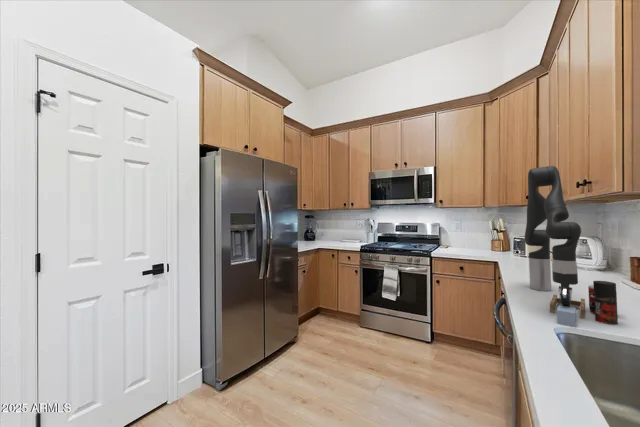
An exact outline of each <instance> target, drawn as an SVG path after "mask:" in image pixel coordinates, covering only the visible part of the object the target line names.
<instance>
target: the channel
mask: <svg viewBox="0 0 640 427" xmlns="http://www.w3.org/2000/svg"><path fill="white" fill-rule="evenodd" d="M585 300H586V299H585V298H581V297H580V300H579V301H578V300H574V299H573V300H572V299H571V301H570V303H571V305H577V306H580V309H579V310H580V311H579V312H580V313H579V314H580V318H581V319H586V301H585ZM558 303H561V299H560V297H558V295H557V294H553V296H552V298H551V300H550V303H549V312H550V313H553V314H554V313H555V311H556V309H557V306H558Z"/></svg>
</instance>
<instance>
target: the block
mask: <svg viewBox="0 0 640 427" xmlns="http://www.w3.org/2000/svg"><path fill="white" fill-rule="evenodd" d="M556 318H557V319H556V323H557V324H558V325H559V324H560V325H564V326H568V325H569V327H573V326H575V327H574V328H576V326H577V309H576V308H573V307H567V306H561V305H559V306H558V305H557V307H556Z"/></svg>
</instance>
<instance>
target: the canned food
mask: <svg viewBox="0 0 640 427" xmlns="http://www.w3.org/2000/svg"><path fill="white" fill-rule="evenodd" d="M587 288H588V291H587V292H588V306H589V308H588V309H589V311H590V313H591V314H594V315H595V307H594V285H593V284H590V285H588V287H587ZM617 295H618V294H617V292H616V296H617Z"/></svg>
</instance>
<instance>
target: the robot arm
mask: <svg viewBox="0 0 640 427" xmlns="http://www.w3.org/2000/svg"><path fill="white" fill-rule="evenodd" d="M550 186H551V190H550V191H549V193H548V195H547V196H546V197H544V196H543V194H541V193H540V192H539V190H538V189H537V188H540V187H550ZM527 190H528V191H527V192H528V195H527V204H526V224H525V225H526V226H525V232H524V243H525V244H526V245H527V246H530V247H531V246H532V247H541V248H540V249H537V250H535V251H534V250H533V251H530V252H529V253H528V267H529V288H530V289H532V290H535V291H542V292H543V291H544V292H551V291H552V282H554V283H556V284H560V285H559V286H558V292H559V298H560V299H561V304H562V306H567V307H570V305H571V303H570V301H571V300H572V298H573V296H572V294H573V287H570V285H571V286H574V285H575V286H576V285H578V283H579V279H578V278H579V277H578V264H577V254H576V252H577V247H578V243H579V240H580V237H581V234H582V228H581V226H580V224H578V222H575V221H566V220H568V219H569V217H570V213H569V211H568V209H567V206H566V205H567V204H566V203H565V199H564V194H563V187H562V182H561V175H560V171H559V169H558V168H557V166H554V165H548V166H541V167H534V168H531V169H529V170H528V173H527ZM545 221H546V228H545V229H536V228H538V227H539V226H540V225H541V224H543V223H544V222H545ZM551 240H566V241H565V243H561V244H555V245H553V246H552V248H551V249H550V246H551ZM551 253H552V254H551ZM551 255H552V262H551ZM551 273H552V274H551ZM551 275H552V276H551Z"/></svg>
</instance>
